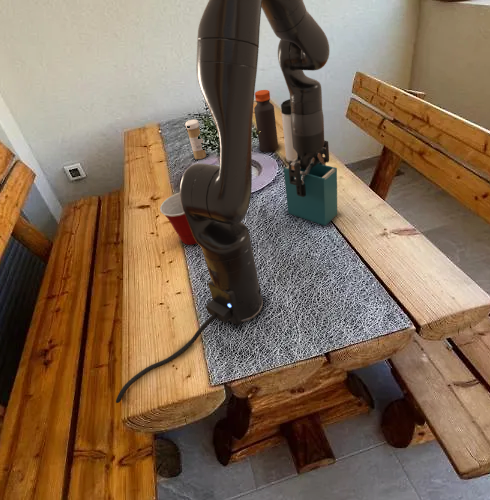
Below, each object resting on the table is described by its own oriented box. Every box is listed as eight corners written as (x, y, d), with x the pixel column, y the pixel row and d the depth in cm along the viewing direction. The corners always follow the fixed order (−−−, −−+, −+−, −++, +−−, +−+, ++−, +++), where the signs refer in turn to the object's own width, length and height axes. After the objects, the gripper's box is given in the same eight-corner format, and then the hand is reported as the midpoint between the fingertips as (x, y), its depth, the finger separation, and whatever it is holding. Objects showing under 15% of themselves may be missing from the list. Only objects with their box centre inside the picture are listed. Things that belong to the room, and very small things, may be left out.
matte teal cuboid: (288, 213, 108) (325, 226, 101) (283, 168, 99) (323, 179, 92) (300, 202, 111) (337, 214, 104) (297, 158, 102) (336, 167, 95)
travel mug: (304, 163, 128) (300, 103, 116) (285, 164, 130) (278, 104, 117) (306, 154, 133) (303, 95, 120) (287, 155, 135) (282, 97, 122)
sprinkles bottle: (205, 152, 145) (197, 117, 137) (207, 158, 142) (198, 122, 133) (193, 155, 145) (184, 120, 136) (194, 160, 142) (185, 125, 133)
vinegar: (281, 148, 139) (275, 91, 127) (265, 154, 138) (257, 97, 125) (273, 142, 144) (266, 87, 132) (256, 148, 142) (248, 92, 130)
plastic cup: (173, 229, 110) (161, 193, 102) (211, 223, 109) (201, 186, 102) (170, 254, 101) (156, 217, 94) (211, 247, 101) (200, 209, 93)
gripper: (303, 143, 85) (307, 205, 95) (337, 118, 92) (338, 178, 103) (276, 137, 89) (283, 197, 99) (311, 114, 96) (314, 172, 107)
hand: (311, 187), depth 101 cm, fingers open, 8 cm apart
